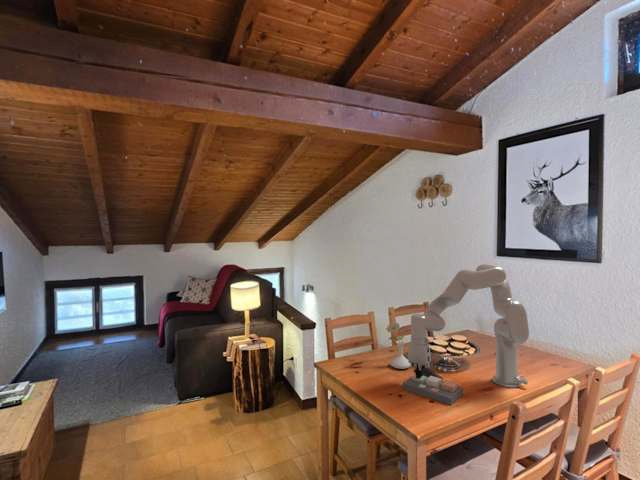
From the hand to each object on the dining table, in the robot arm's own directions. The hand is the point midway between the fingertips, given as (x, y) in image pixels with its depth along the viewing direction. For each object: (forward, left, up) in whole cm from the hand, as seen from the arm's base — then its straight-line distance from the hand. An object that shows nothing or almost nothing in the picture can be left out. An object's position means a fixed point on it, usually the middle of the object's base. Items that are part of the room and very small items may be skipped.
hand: (418, 377), depth 168 cm
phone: (+2, -14, -5) cm, 15 cm away
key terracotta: (-15, 0, -2) cm, 15 cm away
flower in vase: (+19, -14, -4) cm, 24 cm away
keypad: (-8, +2, -4) cm, 9 cm away
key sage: (0, 0, -3) cm, 3 cm away
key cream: (-8, 0, -2) cm, 8 cm away
